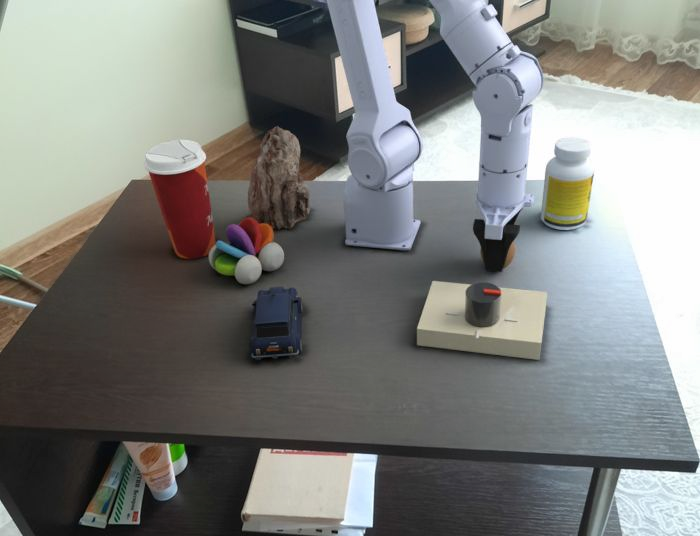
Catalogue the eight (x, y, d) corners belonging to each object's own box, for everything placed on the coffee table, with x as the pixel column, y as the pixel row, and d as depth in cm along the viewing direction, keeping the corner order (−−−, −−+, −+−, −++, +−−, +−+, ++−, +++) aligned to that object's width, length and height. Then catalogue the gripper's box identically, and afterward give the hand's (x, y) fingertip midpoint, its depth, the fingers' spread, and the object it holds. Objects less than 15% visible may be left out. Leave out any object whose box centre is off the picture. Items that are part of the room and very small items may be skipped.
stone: (300, 116, 105) (232, 124, 105) (296, 133, 98) (224, 141, 99) (315, 211, 113) (252, 217, 114) (312, 231, 107) (245, 238, 107)
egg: (520, 268, 96) (524, 229, 93) (495, 281, 95) (498, 241, 91) (496, 255, 99) (499, 216, 96) (472, 267, 98) (474, 227, 94)
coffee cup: (235, 245, 106) (216, 147, 96) (190, 269, 102) (165, 169, 92) (199, 227, 111) (178, 132, 101) (155, 250, 106) (128, 153, 97)
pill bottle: (587, 233, 102) (599, 155, 95) (539, 231, 103) (548, 153, 96) (585, 210, 107) (597, 134, 100) (540, 208, 108) (548, 133, 101)
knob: (462, 325, 84) (463, 298, 81) (467, 305, 87) (468, 278, 84) (497, 329, 83) (499, 302, 80) (501, 308, 86) (503, 281, 83)
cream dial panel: (415, 348, 85) (415, 330, 83) (432, 296, 93) (432, 279, 91) (538, 363, 82) (541, 345, 80) (545, 308, 89) (547, 290, 88)
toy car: (302, 303, 94) (297, 266, 90) (301, 363, 84) (296, 325, 81) (256, 306, 94) (250, 270, 90) (250, 367, 84) (242, 329, 81)
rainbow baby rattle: (295, 264, 101) (289, 218, 96) (240, 296, 96) (231, 248, 91) (256, 244, 106) (248, 199, 101) (202, 273, 101) (191, 227, 96)
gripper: (532, 193, 81) (522, 293, 90) (541, 139, 92) (531, 233, 100) (468, 189, 83) (464, 287, 92) (485, 137, 94) (480, 229, 102)
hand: (496, 259), depth 96 cm, fingers closed on egg, 4 cm apart
